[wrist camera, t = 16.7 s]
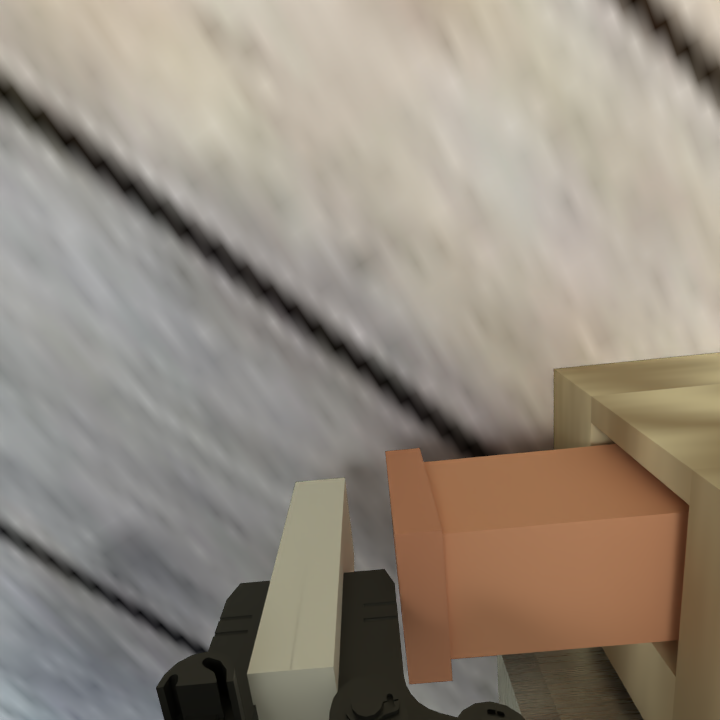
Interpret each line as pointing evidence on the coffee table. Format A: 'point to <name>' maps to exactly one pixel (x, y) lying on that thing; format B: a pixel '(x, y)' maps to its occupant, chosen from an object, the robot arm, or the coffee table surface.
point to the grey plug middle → (564, 686)
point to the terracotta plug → (533, 554)
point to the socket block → (686, 479)
